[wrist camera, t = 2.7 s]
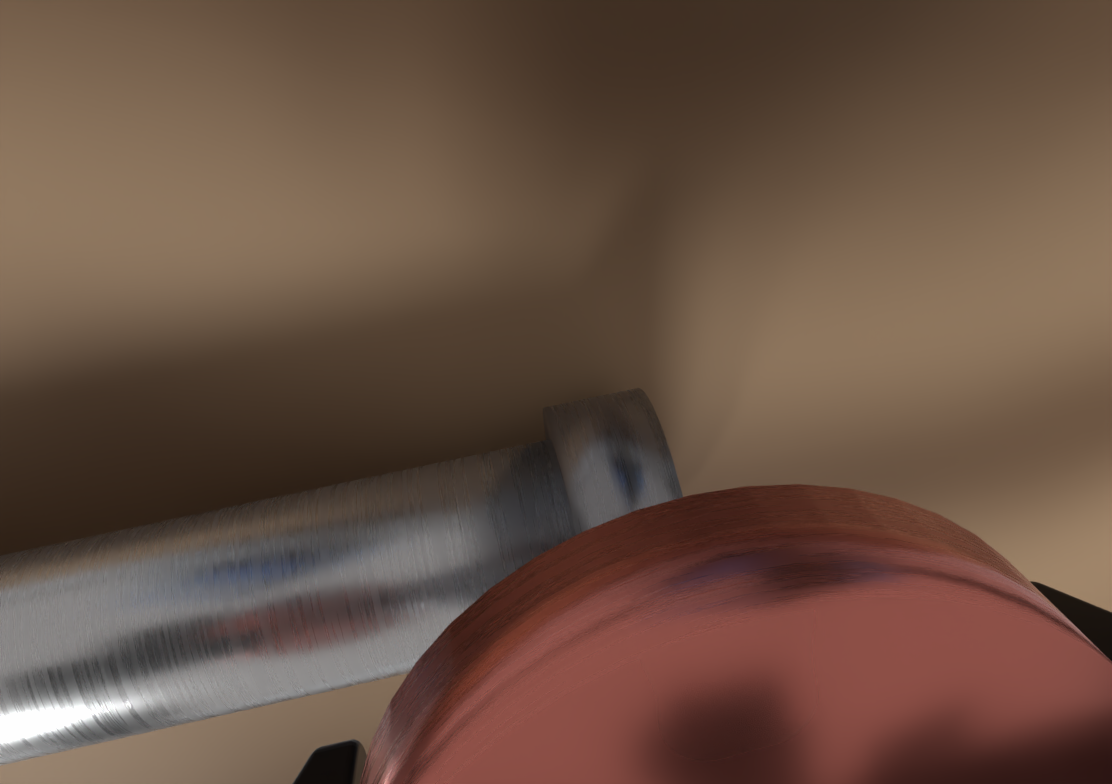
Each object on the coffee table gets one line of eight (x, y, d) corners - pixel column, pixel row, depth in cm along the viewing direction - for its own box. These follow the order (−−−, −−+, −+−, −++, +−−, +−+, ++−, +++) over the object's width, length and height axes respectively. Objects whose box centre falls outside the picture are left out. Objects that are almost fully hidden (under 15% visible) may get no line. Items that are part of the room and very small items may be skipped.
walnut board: (1142, 671, 17) (1166, 693, 17) (-469, 1056, 16) (-501, 1097, 15) (1260, -222, 12) (1301, -231, 11) (-1310, 223, 10) (-1414, 238, 9)
